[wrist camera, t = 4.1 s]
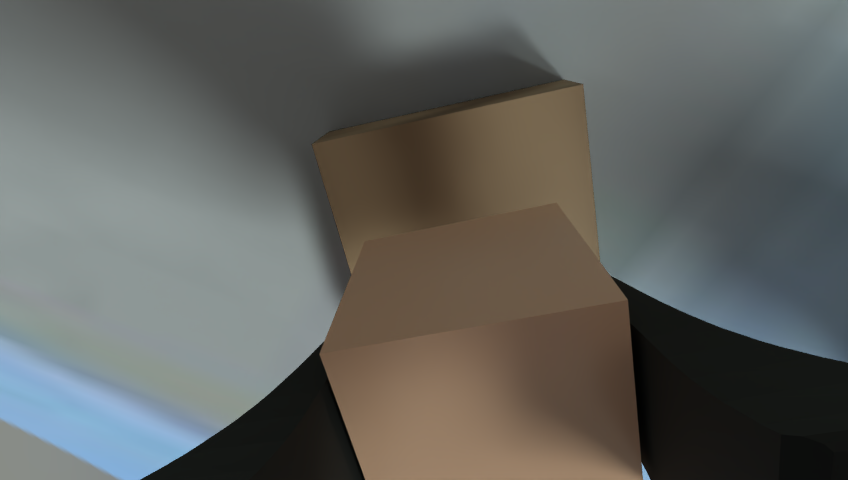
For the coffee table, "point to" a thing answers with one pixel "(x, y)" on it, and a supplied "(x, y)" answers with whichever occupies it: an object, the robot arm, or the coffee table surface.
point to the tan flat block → (461, 165)
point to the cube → (486, 355)
